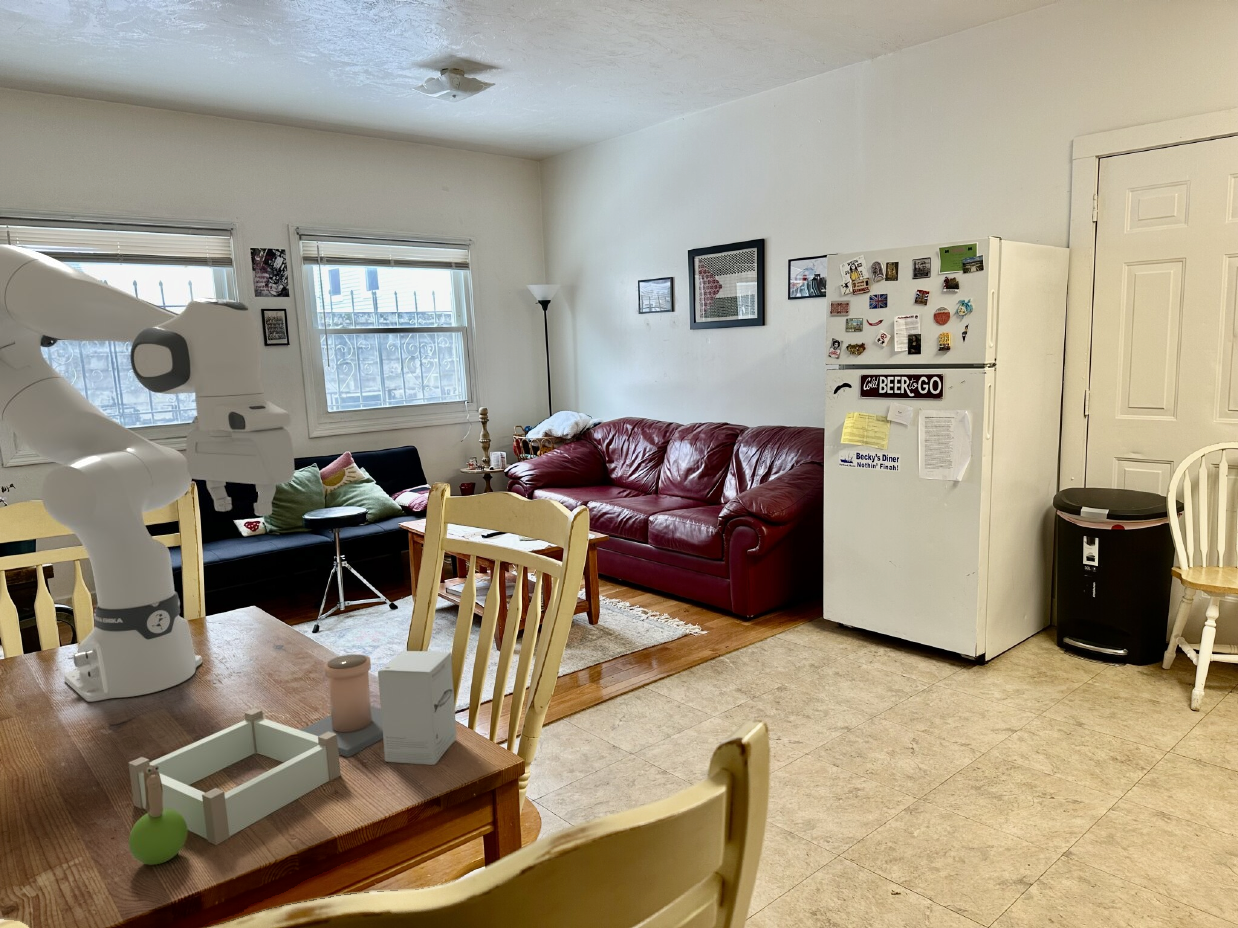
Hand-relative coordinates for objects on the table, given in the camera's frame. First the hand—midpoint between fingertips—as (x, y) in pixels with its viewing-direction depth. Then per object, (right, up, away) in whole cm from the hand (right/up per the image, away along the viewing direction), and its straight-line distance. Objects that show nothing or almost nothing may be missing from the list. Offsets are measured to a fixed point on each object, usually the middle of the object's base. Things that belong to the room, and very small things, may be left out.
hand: (243, 512), depth 117 cm
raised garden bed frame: (+7, -33, -15) cm, 37 cm away
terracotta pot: (+16, -30, -1) cm, 34 cm away
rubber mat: (+16, -31, -1) cm, 35 cm away
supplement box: (+27, -32, -7) cm, 42 cm away
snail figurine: (+5, -36, -29) cm, 46 cm away
